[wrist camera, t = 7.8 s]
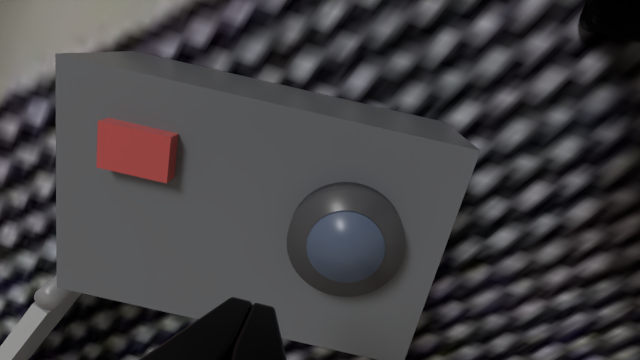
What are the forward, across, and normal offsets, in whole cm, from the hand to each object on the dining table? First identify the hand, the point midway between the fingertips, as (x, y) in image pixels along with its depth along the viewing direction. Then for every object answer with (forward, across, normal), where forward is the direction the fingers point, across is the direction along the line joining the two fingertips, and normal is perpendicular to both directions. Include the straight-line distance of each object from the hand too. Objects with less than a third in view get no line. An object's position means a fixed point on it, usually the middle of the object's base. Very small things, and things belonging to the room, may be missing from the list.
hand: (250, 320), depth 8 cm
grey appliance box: (+12, +2, +2) cm, 12 cm away
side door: (+11, +12, +11) cm, 19 cm away
